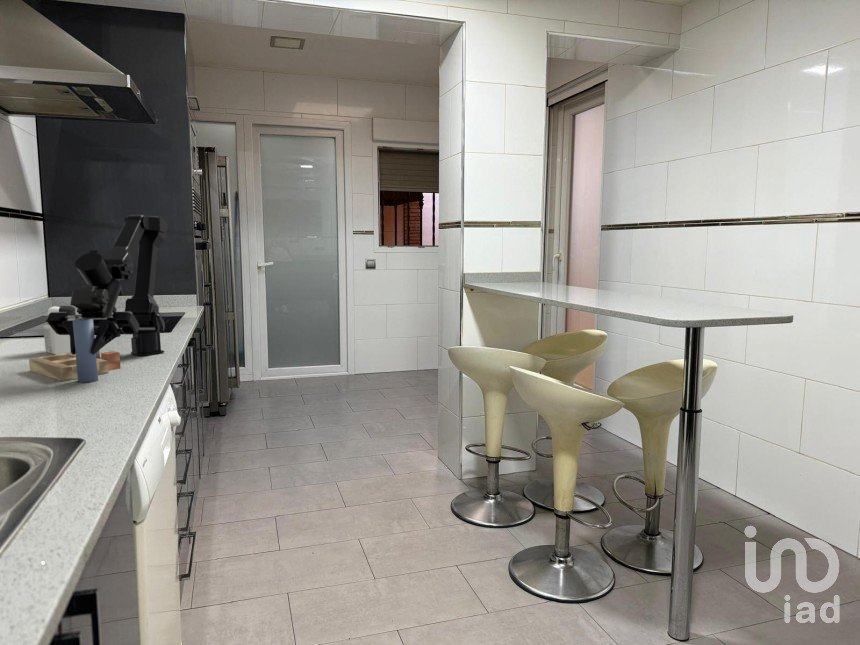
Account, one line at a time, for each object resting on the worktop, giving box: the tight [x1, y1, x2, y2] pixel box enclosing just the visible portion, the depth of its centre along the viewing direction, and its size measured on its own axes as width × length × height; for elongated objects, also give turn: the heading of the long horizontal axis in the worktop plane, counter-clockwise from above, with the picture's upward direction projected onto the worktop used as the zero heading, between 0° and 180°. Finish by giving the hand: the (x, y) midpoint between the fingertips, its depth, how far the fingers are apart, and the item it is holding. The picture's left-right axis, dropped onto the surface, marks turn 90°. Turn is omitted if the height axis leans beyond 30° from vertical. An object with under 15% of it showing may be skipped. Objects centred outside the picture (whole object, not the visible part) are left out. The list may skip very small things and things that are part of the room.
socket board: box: [28, 350, 122, 382], centre depth 148 cm, size 14×18×4 cm
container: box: [42, 305, 77, 355], centre depth 172 cm, size 8×8×13 cm
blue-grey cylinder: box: [73, 318, 99, 384], centre depth 137 cm, size 4×4×14 cm
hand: (82, 353), depth 136 cm, fingers closed on blue-grey cylinder, 4 cm apart
